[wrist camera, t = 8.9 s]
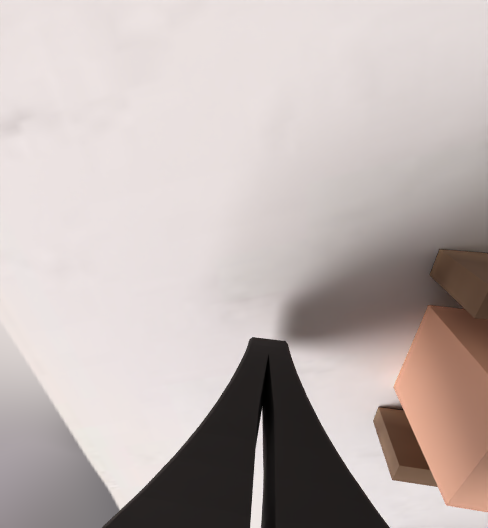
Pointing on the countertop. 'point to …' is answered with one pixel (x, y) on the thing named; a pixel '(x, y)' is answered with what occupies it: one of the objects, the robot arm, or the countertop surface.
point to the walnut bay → (395, 421)
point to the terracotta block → (450, 402)
